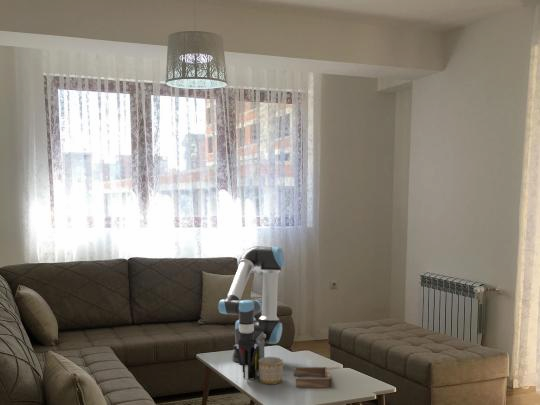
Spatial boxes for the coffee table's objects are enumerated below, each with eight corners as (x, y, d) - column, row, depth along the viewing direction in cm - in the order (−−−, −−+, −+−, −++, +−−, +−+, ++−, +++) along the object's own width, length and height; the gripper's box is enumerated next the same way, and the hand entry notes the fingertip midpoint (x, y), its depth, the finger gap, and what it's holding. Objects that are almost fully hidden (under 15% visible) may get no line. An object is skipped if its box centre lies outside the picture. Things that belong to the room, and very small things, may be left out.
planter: (258, 377, 279) (258, 356, 279) (282, 376, 280) (282, 356, 280) (258, 385, 266) (258, 364, 266) (284, 385, 267) (284, 364, 267)
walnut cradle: (293, 375, 282) (293, 367, 282) (326, 374, 283) (326, 367, 283) (295, 387, 264) (295, 379, 264) (331, 387, 264) (331, 378, 264)
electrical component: (259, 379, 276) (259, 339, 276) (239, 377, 278) (239, 338, 278) (266, 368, 293) (266, 331, 293) (248, 367, 295) (248, 330, 295)
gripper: (233, 333, 268) (233, 381, 268) (259, 333, 268) (259, 381, 268) (233, 329, 275) (233, 376, 275) (259, 329, 276) (259, 376, 276)
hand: (246, 378), depth 272 cm, fingers closed
